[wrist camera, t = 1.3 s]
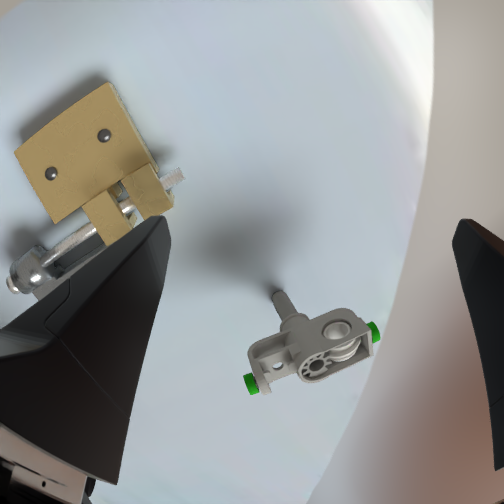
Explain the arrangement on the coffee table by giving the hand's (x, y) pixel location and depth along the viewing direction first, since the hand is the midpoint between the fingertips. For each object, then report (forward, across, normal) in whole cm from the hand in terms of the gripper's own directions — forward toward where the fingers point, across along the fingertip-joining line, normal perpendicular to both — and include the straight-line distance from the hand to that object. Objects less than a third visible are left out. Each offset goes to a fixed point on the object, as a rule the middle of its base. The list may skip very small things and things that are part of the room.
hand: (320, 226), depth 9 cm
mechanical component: (+13, +1, +18) cm, 22 cm away
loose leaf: (+13, +15, +4) cm, 20 cm away
